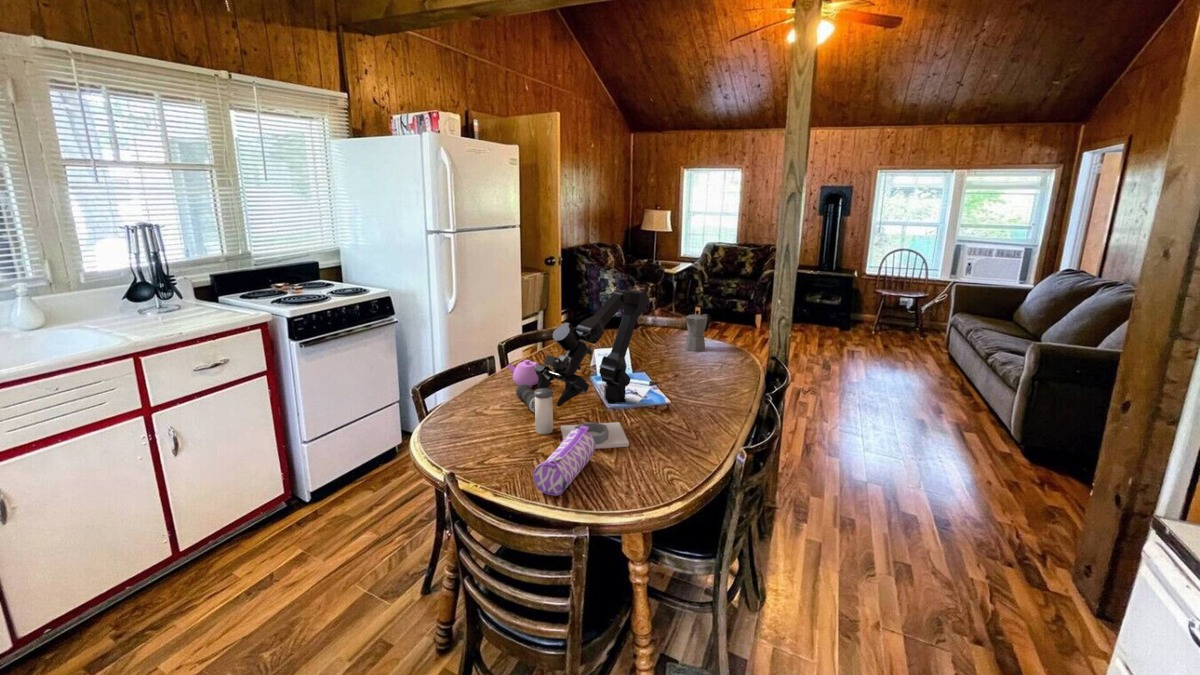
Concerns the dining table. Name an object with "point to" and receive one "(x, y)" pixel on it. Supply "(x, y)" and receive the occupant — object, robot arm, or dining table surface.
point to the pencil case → (565, 462)
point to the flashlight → (526, 396)
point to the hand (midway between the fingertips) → (546, 401)
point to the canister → (543, 410)
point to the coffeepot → (696, 331)
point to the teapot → (525, 373)
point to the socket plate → (612, 435)
